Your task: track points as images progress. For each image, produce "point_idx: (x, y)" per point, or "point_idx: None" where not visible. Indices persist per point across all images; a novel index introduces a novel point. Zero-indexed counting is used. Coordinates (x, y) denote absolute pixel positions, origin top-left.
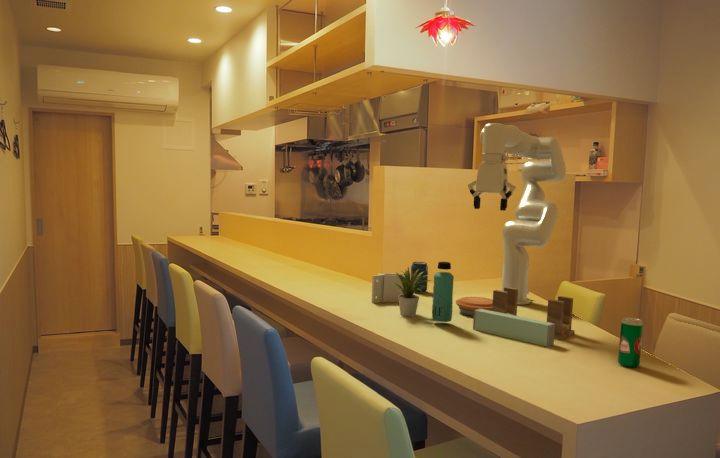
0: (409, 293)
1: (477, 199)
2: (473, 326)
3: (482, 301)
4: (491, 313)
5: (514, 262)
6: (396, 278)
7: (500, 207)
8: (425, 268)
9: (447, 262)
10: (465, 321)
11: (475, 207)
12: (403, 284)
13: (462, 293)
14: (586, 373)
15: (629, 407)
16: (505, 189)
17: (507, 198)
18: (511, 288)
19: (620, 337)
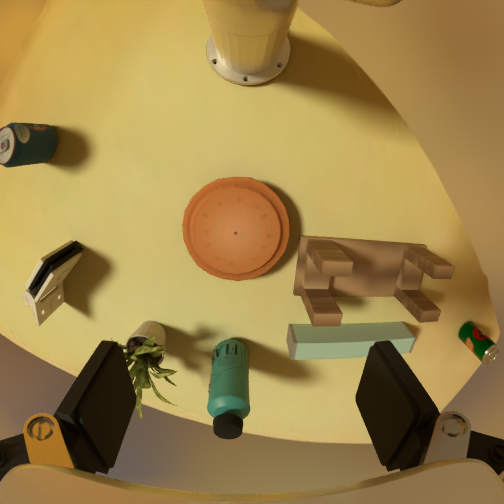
0: (145, 357)
1: (111, 449)
2: (287, 342)
3: (252, 243)
4: (324, 357)
5: (263, 34)
6: (49, 284)
7: (362, 412)
8: (23, 146)
9: (235, 432)
10: (252, 306)
11: (131, 406)
12: (132, 373)
13: (115, 68)
14: (428, 378)
15: (443, 407)
16: (482, 485)
17: (446, 427)
18: (338, 270)
19: (472, 351)
